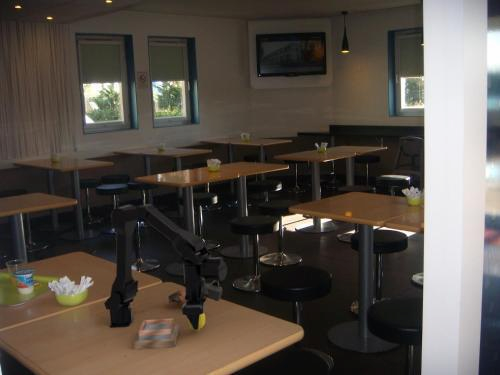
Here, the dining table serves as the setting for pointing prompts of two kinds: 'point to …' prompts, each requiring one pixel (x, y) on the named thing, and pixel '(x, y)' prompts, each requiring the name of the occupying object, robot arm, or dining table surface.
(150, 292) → the dining table surface
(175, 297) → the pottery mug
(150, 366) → the dining table surface
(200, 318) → the lemon
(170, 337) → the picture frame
